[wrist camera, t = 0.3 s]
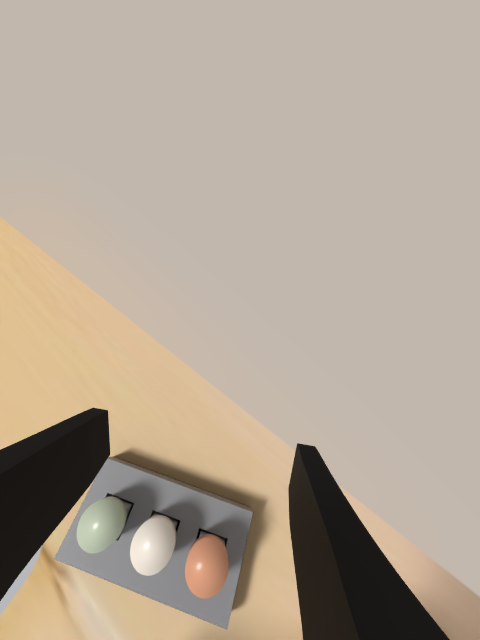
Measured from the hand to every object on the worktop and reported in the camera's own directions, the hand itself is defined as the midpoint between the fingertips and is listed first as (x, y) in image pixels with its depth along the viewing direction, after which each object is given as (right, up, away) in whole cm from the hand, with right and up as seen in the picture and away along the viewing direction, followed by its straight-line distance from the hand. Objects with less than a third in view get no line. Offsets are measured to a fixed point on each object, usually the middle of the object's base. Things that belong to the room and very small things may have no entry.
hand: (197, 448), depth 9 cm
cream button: (-8, -21, +19) cm, 29 cm away
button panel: (-8, -21, +21) cm, 31 cm away
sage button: (-14, -19, +20) cm, 30 cm away
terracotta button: (-2, -22, +19) cm, 29 cm away
